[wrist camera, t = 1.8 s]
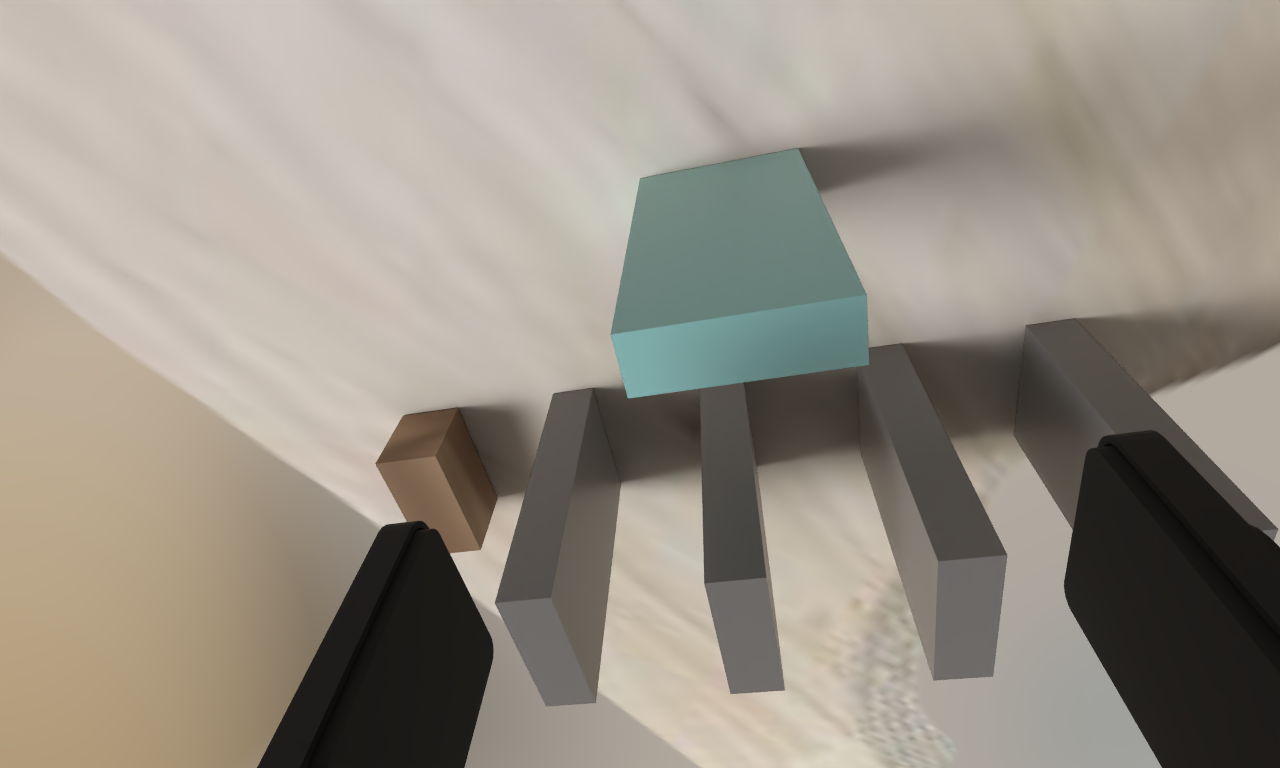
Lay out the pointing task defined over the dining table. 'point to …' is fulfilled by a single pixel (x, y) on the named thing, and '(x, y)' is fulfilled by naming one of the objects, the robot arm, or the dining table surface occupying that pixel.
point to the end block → (439, 477)
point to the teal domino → (735, 280)
